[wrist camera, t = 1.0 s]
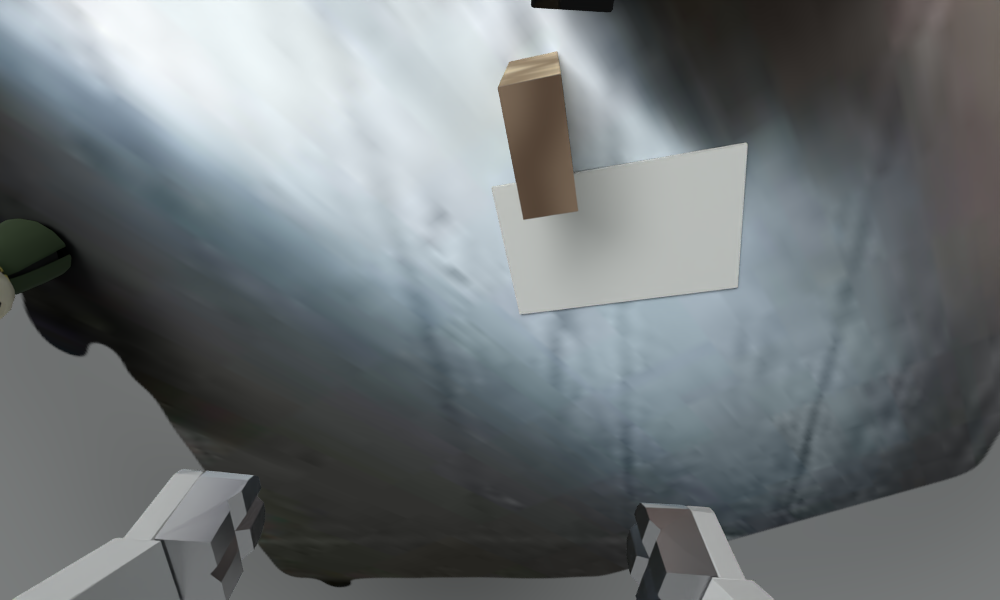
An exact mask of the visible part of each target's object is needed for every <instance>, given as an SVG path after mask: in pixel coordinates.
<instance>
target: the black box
mask: <svg viewBox="0 0 1000 600" xmlns="http://www.w3.org/2000/svg"><path fill="white" fill-rule="evenodd" d="M613 3H614V0H531V6H532V7H533V8H546V9H563V10H579V11H596V12H611V11H612V9H613Z"/></svg>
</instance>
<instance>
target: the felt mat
mask: <svg viewBox="0 0 1000 600" xmlns="http://www.w3.org/2000/svg"><path fill="white" fill-rule="evenodd" d="M747 146H748V144H747V143H741V144H735V145H730V146H724V147H718V148H712V149H707V150H701V151H695V152H689V153H683V154H678V155H672V156H666V157H660V158H655V159H649V160H643V161H637V162H632V163H626V164H620V165H614V166H608V167H603V168H597V169H591V170H585V171H580V172H574V181H575V189H576V197H577V205H578V211H577V212H570V213H564V214H558V215H551V216H545V217H539V218H532V219H526V220H523V216H522V210H521V205H520V200H519V195H518V190H517V185H516V183H510V184H505V185H499V186H493V187H492V193H493V197H494V201H495V206H496V210H497V215H498V219H499V224H500V228H501V233H502V237H503V242H504V246H505V251H506V255H507V260H508V264H509V269H510V273H511V277H512V282H513V286H514V291H515V295H516V300H517V304H518V309H519V313H520V314H528V313H536V312H544V311H552V310H561V309H569V308H577V307H585V306H593V305H601V304H609V303H617V302H625V301H633V300H641V299H649V298H657V297H666V296H674V295H682V294H690V293H698V292H706V291H714V290H722V289H730V288H738V275H739V260H740V246H741V232H742V217H743V203H744V189H745V174H746V160H747Z"/></svg>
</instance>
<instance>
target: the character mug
mask: <svg viewBox="0 0 1000 600" xmlns="http://www.w3.org/2000/svg"><path fill="white" fill-rule="evenodd" d="M63 247H65V243H64V242H63V241H62V240H61V239H60V238H59V237H58V236H57V235H56V234H55V233H54V232H53V231H52V230H50V229H48V228H46V227H45V226H43V225H41V224H40V223H38V222H35V221H30V220H24V219H11V220H6V221H4V222H2V223H1V224H0V319H1V318H3V317H4V316H5V314H7V313H8V311H10V310H11V308H12V303H13V301H14V298H15V294H19V293H22V292H24V291H26V290H29V289H31V288H34V287H36V286H38V285H41V284H43V283H46V282H48V281H50V280H52V279H54V278H56V277H58V276H60V275H62V274H64V273H65V272H66V271H67V270H68V269H69V268H70V267H71V256H70V254H69V255H67V256H65V257H63V258H61V259H59V260H58V255H57V252H56V251H58V250H60V249H62V248H63Z"/></svg>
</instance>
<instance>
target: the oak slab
mask: <svg viewBox="0 0 1000 600" xmlns="http://www.w3.org/2000/svg"><path fill="white" fill-rule="evenodd" d="M498 92H499V97H500V102H501V107H502V112H503V118H504V123H505V128H506V133H507V138H508V143H509V149H510V154H511V159H512V164H513V169H514V174H515V179H516V185H517V190H518V195H519V200H520V205H521V210H522V216H523V220H526V219H532V218H539V217H545V216H551V215H558V214H564V213H570V212H577V211H578V205H577V197H576V189H575V181H574V173H573V165H572V157H571V150H570V142H569V134H568V126H567V118H566V110H565V102H564V94H563V86H562V78H561V72H560V66H559V60H558V54H557V52H552V53H548V54H543V55H539V56H534V57H530V58H525V59H521V60H516V61H511V62H509V64H508V66H507V68H506V70H505V73H504V75H503V77H502V79H501V81H500V84H499V86H498Z"/></svg>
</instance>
